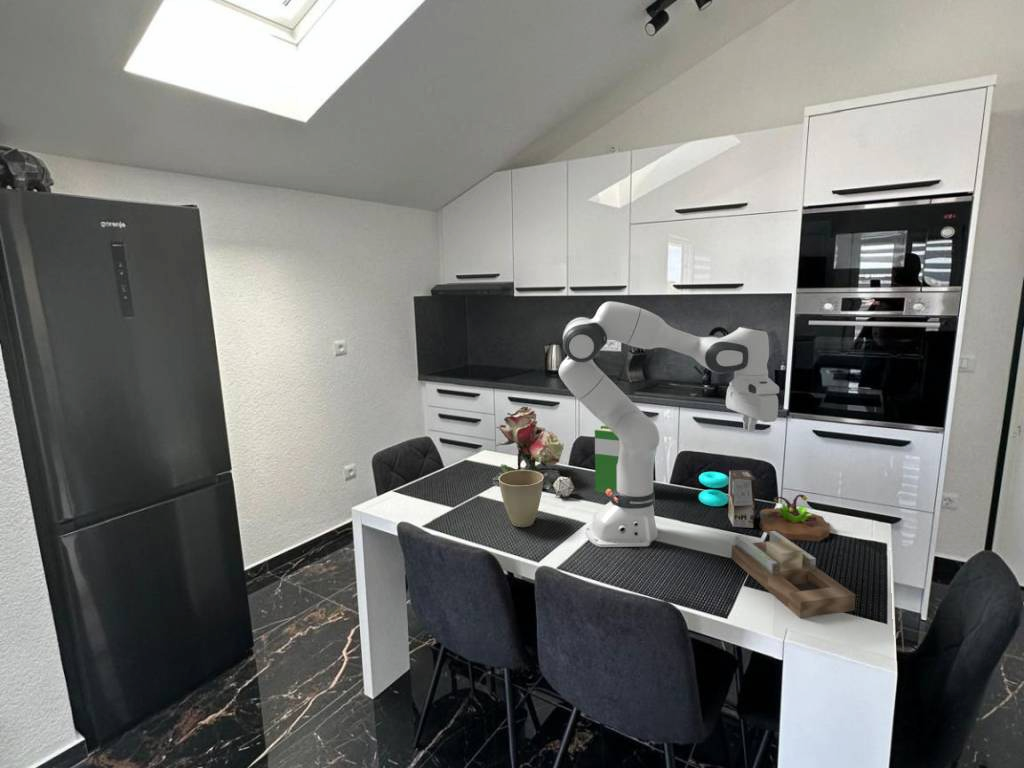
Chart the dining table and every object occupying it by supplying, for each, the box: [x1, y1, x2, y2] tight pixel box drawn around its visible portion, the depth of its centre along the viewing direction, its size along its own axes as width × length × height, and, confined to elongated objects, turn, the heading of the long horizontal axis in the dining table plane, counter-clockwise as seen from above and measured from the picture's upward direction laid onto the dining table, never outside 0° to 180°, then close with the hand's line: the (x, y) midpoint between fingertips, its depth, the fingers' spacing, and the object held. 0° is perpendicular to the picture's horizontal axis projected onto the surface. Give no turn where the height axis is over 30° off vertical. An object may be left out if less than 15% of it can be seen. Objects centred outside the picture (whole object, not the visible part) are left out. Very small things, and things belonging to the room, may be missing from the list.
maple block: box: [766, 539, 804, 572], centre depth 139 cm, size 6×6×5 cm
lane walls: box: [734, 531, 817, 575], centre depth 143 cm, size 12×16×3 cm
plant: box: [759, 493, 831, 543], centre depth 169 cm, size 20×20×11 cm
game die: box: [550, 474, 577, 500], centre depth 201 cm, size 9×8×10 cm
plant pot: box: [498, 470, 544, 528], centre depth 179 cm, size 15×15×16 cm
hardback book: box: [594, 425, 620, 494], centre depth 202 cm, size 18×7×24 cm, turn 61°
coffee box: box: [727, 469, 757, 529], centre depth 173 cm, size 9×6×16 cm
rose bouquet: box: [491, 405, 564, 490], centre depth 220 cm, size 26×29×30 cm
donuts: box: [698, 471, 729, 507], centre depth 190 cm, size 10×10×10 cm
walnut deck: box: [730, 540, 856, 619], centre depth 138 cm, size 14×28×4 cm, turn 9°
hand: (748, 430), depth 156 cm, fingers closed
